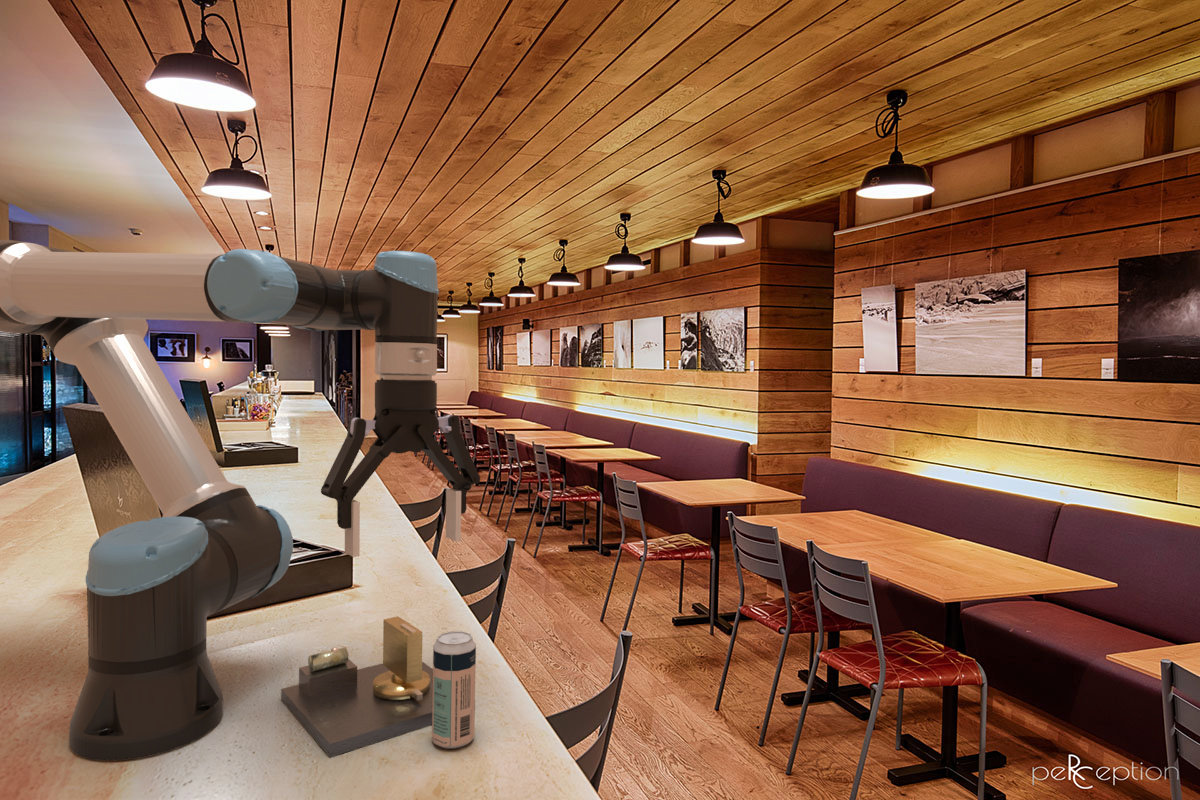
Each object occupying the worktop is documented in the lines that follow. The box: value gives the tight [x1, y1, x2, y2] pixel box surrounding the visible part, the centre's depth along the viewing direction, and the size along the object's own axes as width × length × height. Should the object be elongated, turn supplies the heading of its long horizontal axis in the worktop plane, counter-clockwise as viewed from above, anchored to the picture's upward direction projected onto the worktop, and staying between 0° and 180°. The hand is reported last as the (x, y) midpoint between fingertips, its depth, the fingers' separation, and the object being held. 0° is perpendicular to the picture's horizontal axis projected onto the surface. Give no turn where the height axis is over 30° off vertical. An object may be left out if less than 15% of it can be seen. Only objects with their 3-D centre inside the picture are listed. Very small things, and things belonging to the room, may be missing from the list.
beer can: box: [431, 631, 477, 750], centre depth 83 cm, size 5×5×12 cm
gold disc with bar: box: [373, 616, 430, 701], centre depth 92 cm, size 7×9×8 cm
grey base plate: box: [280, 646, 433, 758], centre depth 92 cm, size 18×17×6 cm
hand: (404, 546), depth 92 cm, fingers open, 13 cm apart
